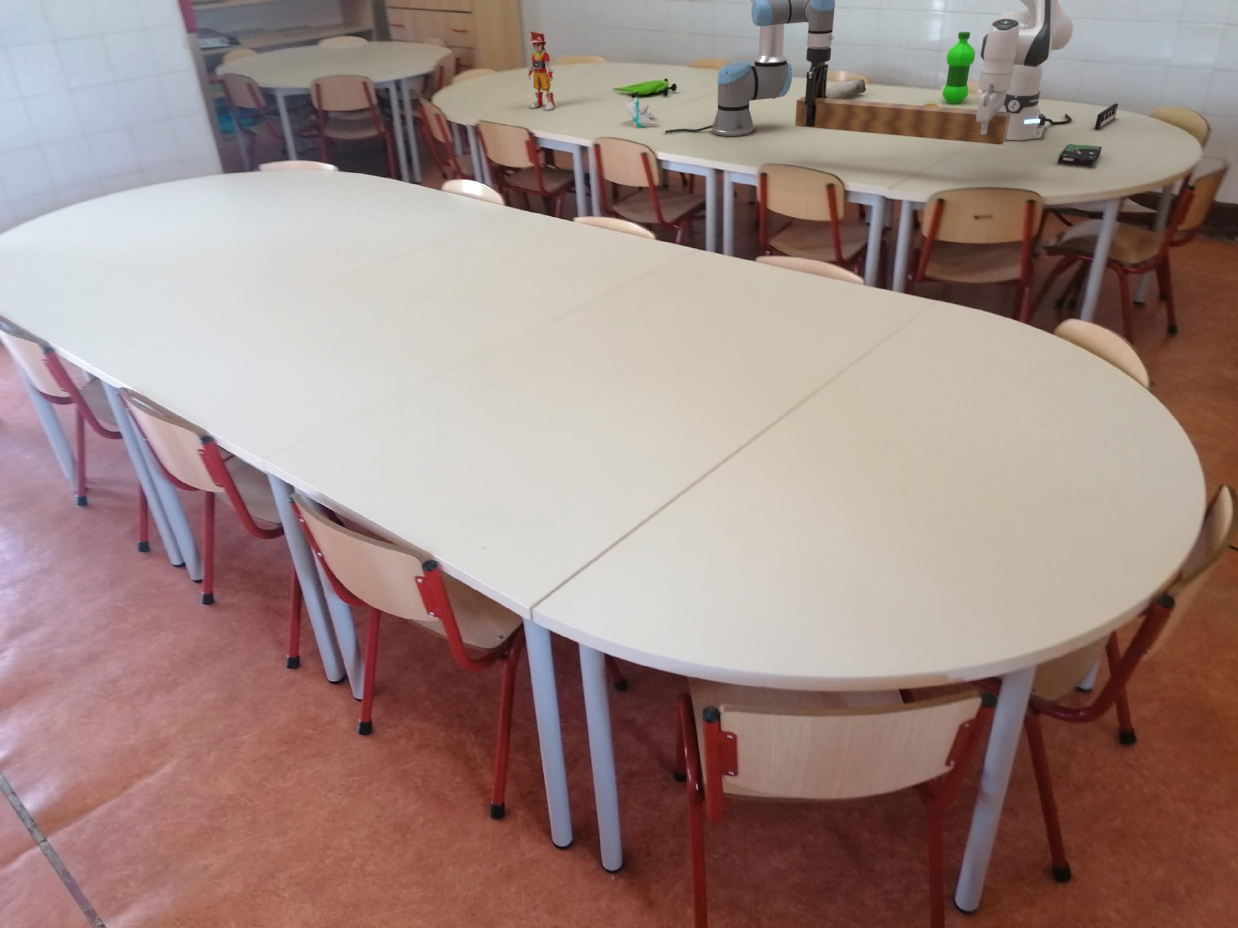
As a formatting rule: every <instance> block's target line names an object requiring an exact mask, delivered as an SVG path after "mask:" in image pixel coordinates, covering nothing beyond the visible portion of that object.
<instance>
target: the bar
mask: <svg viewBox="0 0 1238 928" xmlns="http://www.w3.org/2000/svg"><path fill="white" fill-rule="evenodd" d="M804 103H805V96H802V97H800V98H798V99H796V105H795V121H794V126H795V127H802V128H812V129H821V130H822V129H824V130H834V131H843V132H845V131H846V132H857V133H865V134H866V133H868V134H878V135H889V136H890V135H891V136H900V137H911V138H922V139H931V140H943V141H944V140H945V141H954V142H955V141H956V142H967V143H978V144H989V145H999V146H1002V145H1003V144H1004V143H1005V141H1007V140H1006V136H1007V131H1008V126H1009V121H1010V115H1011V112H1002V111H998V112H997V113H996V114H995V115H994V117H993V118H992V119H991V120H990V121H989V124H988V132H987V134H986V135H981V134H980V131H981V123H980V122H976V116H977V111H978V109H975V108H973V109H972V108H960V107H959V108H958V107H947V106H939V107H935V106H923V105H921V104H905V103H893V102H882V101H881V102H880V101H879V102H878V101H867V100H854V99H853V100H851V99H842V98H841V99H828V98H816V101H815V105H816V114H815V126H814V127H811V126H806V117H807V105H804Z"/></svg>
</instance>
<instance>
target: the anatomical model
mask: <svg viewBox="0 0 1238 928" xmlns="http://www.w3.org/2000/svg"><path fill="white" fill-rule="evenodd" d="M625 106H626V109H627V113H628V114H629V116H631V118H632V120H633V121H634V123H635V125H636V126H637V127H639V128H644V127H645V126H655V125H657V121H652V120H651V119H654V117H655V114H654V113H652V111H648V109H649V108H650V105H645V106H644V107H642V108H640V100H639V98H638V97H634V98H633V100H632V101H631V102H628V103H626V105H625Z"/></svg>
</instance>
